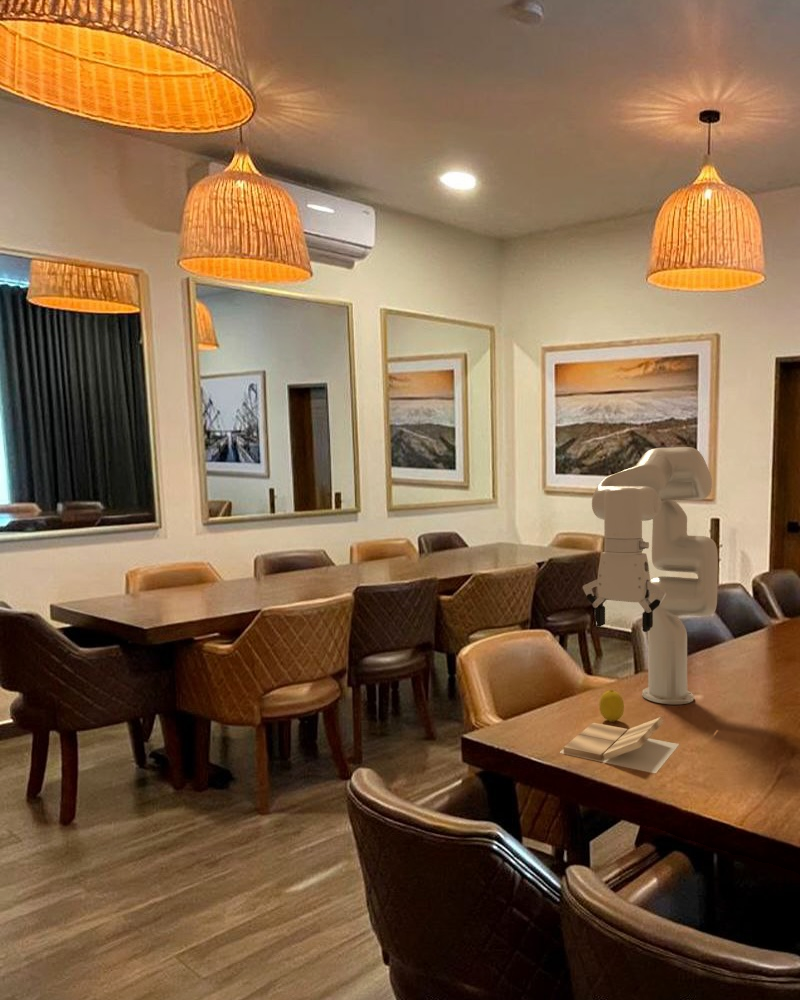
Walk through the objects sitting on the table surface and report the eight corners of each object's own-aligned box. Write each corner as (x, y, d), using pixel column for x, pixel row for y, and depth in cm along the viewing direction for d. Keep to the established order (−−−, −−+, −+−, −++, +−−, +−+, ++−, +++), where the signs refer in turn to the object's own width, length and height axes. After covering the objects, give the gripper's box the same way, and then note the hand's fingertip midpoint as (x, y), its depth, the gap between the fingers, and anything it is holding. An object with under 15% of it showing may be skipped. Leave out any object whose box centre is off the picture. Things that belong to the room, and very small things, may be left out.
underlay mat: (589, 728, 169) (589, 727, 169) (679, 746, 158) (679, 744, 158) (559, 754, 154) (559, 752, 154) (655, 775, 143) (655, 773, 143)
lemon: (607, 728, 169) (607, 694, 169) (595, 720, 175) (594, 687, 174) (628, 725, 171) (628, 691, 171) (615, 717, 176) (615, 685, 176)
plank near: (619, 746, 156) (616, 741, 156) (652, 734, 152) (649, 729, 152) (605, 760, 149) (602, 754, 149) (639, 747, 145) (636, 741, 145)
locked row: (592, 727, 169) (592, 722, 169) (627, 734, 164) (627, 728, 164) (563, 752, 154) (563, 746, 154) (600, 760, 150) (600, 754, 150)
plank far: (632, 733, 164) (629, 728, 164) (664, 721, 159) (661, 716, 160) (620, 745, 157) (617, 740, 157) (652, 733, 152) (649, 728, 153)
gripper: (670, 547, 151) (670, 629, 151) (589, 543, 161) (590, 621, 161) (660, 550, 145) (660, 636, 145) (576, 546, 155) (577, 626, 155)
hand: (623, 628), depth 153 cm, fingers open, 9 cm apart
